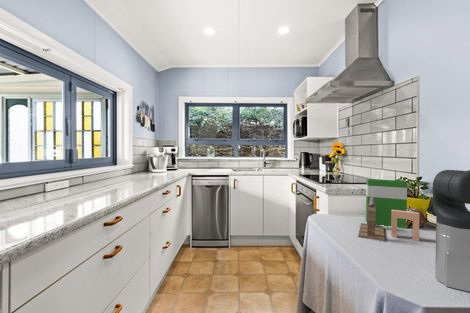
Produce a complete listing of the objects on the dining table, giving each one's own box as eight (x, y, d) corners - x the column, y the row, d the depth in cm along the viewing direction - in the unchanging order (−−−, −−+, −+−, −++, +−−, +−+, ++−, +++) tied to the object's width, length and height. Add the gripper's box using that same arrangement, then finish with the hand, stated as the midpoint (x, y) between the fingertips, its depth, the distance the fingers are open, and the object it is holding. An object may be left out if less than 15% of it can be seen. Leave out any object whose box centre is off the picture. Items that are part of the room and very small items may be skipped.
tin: (425, 228, 120) (426, 212, 120) (419, 228, 121) (419, 212, 121) (410, 220, 135) (410, 206, 135) (404, 220, 136) (404, 205, 135)
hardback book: (402, 224, 126) (403, 180, 126) (406, 228, 120) (407, 182, 119) (365, 220, 134) (366, 178, 133) (366, 223, 127) (367, 180, 127)
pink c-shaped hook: (418, 241, 102) (419, 213, 102) (391, 236, 107) (392, 210, 107) (417, 239, 105) (418, 212, 104) (391, 234, 110) (391, 209, 110)
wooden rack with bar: (384, 241, 101) (385, 204, 101) (358, 236, 106) (359, 202, 106) (383, 228, 119) (383, 197, 119) (360, 225, 124) (361, 195, 124)
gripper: (481, 196, 88) (442, 223, 93) (468, 193, 100) (434, 217, 105) (461, 181, 91) (425, 208, 96) (451, 180, 103) (419, 204, 108)
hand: (430, 213), depth 101 cm, fingers open, 8 cm apart
